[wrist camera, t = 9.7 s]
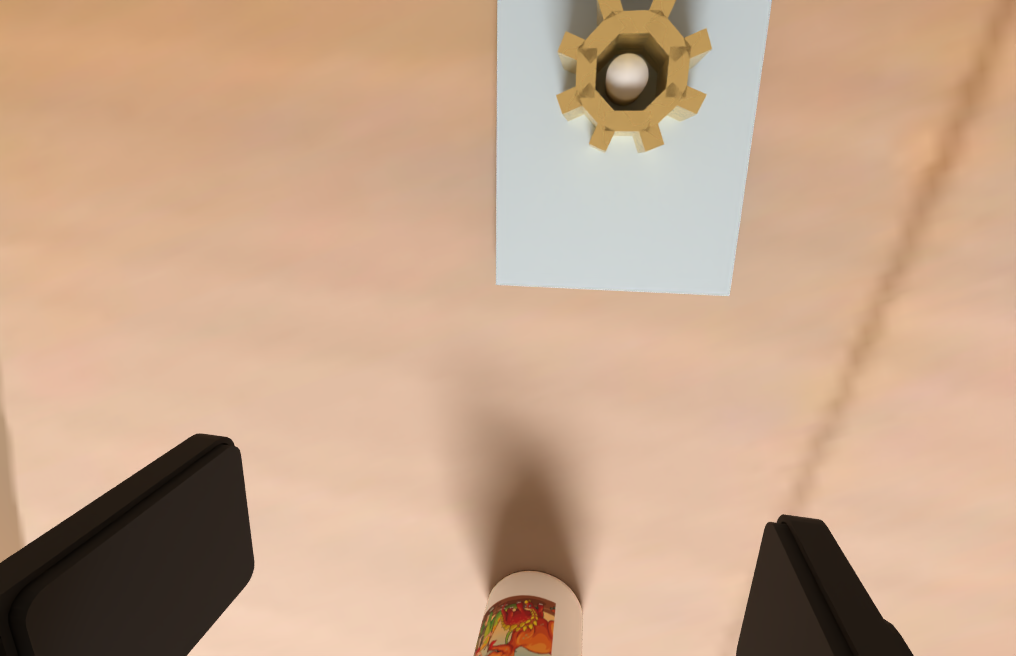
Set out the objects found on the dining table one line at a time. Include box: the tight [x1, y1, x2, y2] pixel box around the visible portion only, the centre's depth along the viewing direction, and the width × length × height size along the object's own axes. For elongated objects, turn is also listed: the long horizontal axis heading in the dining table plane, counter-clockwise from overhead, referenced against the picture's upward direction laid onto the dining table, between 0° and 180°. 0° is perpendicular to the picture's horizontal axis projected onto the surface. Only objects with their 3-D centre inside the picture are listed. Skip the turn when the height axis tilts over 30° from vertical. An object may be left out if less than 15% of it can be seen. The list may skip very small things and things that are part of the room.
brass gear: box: [556, 0, 712, 153], centre depth 26 cm, size 7×7×5 cm
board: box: [496, 0, 772, 296], centre depth 27 cm, size 14×26×6 cm, turn 179°
